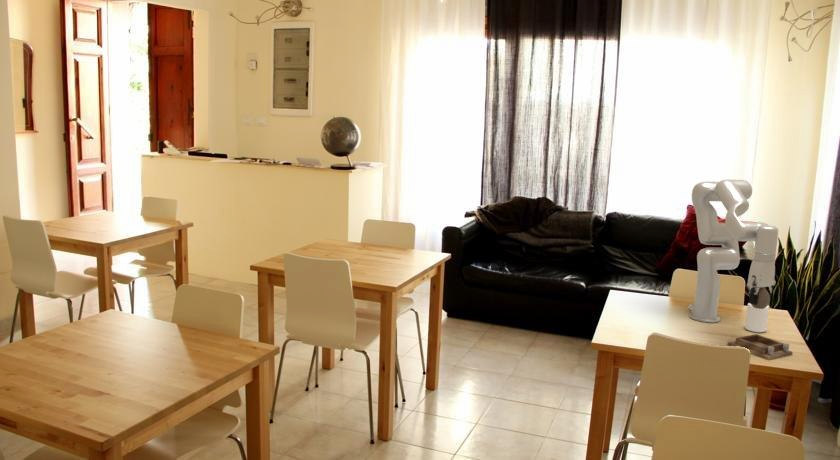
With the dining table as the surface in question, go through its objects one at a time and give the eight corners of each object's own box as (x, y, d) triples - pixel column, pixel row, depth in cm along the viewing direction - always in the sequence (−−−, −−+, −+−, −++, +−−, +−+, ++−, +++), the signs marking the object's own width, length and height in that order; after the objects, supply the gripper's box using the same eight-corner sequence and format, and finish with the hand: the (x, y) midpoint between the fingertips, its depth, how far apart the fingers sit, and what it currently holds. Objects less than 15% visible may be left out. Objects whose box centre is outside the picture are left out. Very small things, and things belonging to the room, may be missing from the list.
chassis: (727, 344, 284) (728, 334, 283) (750, 340, 291) (751, 330, 290) (768, 360, 269) (770, 349, 268) (792, 354, 276) (793, 344, 275)
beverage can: (757, 334, 299) (760, 306, 297) (740, 328, 306) (743, 300, 304) (770, 332, 303) (773, 304, 301) (753, 326, 310) (756, 299, 308)
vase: (770, 310, 277) (773, 288, 276) (751, 309, 278) (753, 286, 277) (766, 306, 284) (768, 284, 282) (747, 304, 285) (749, 282, 284)
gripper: (769, 254, 286) (764, 298, 288) (741, 257, 277) (736, 302, 280) (787, 258, 279) (782, 303, 282) (758, 261, 271) (753, 307, 273)
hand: (759, 302), depth 281 cm, fingers closed on vase, 6 cm apart
